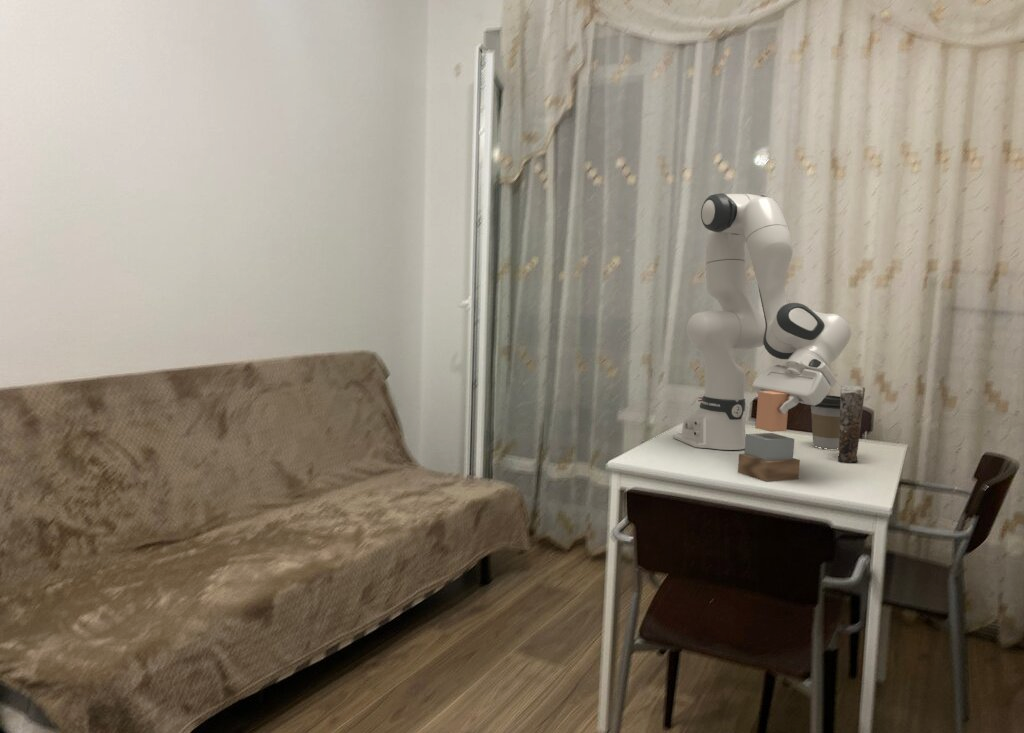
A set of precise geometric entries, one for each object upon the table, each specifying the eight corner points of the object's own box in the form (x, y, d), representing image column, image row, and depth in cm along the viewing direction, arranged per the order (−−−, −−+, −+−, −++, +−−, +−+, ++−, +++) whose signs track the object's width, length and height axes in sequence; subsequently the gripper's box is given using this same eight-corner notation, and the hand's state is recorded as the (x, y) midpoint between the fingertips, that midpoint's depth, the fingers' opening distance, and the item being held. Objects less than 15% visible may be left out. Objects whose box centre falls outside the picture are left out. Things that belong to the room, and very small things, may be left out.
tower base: (737, 473, 196) (739, 453, 195) (768, 471, 200) (769, 451, 200) (767, 483, 187) (768, 462, 186) (798, 480, 191) (800, 459, 191)
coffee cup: (856, 450, 231) (860, 399, 229) (825, 452, 226) (829, 400, 225) (827, 443, 241) (831, 394, 240) (797, 444, 237) (801, 394, 235)
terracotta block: (755, 428, 193) (758, 391, 192) (771, 427, 195) (774, 391, 194) (770, 431, 189) (773, 394, 188) (786, 430, 191) (789, 393, 190)
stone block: (832, 453, 225) (837, 383, 224) (858, 455, 223) (864, 385, 221) (835, 462, 213) (841, 388, 211) (863, 464, 211) (870, 390, 209)
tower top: (744, 453, 195) (745, 433, 195) (770, 452, 198) (772, 432, 198) (765, 460, 188) (767, 440, 187) (792, 459, 191) (794, 439, 190)
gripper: (767, 355, 202) (734, 394, 199) (830, 364, 184) (795, 407, 181) (779, 373, 205) (747, 411, 202) (842, 383, 186) (808, 425, 183)
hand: (770, 409), depth 191 cm, fingers closed on terracotta block, 5 cm apart
